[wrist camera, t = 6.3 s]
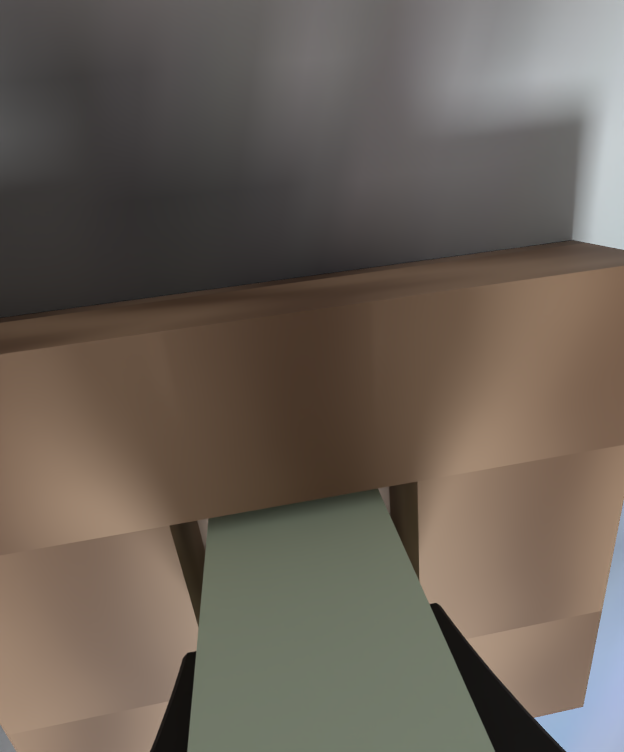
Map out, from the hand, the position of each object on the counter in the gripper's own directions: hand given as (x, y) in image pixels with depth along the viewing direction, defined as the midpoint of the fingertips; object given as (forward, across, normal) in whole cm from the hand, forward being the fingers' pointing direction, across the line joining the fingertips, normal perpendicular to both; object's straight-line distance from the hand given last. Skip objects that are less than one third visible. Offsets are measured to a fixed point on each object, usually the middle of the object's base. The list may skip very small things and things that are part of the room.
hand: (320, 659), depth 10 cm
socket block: (+5, 0, 0) cm, 5 cm away
